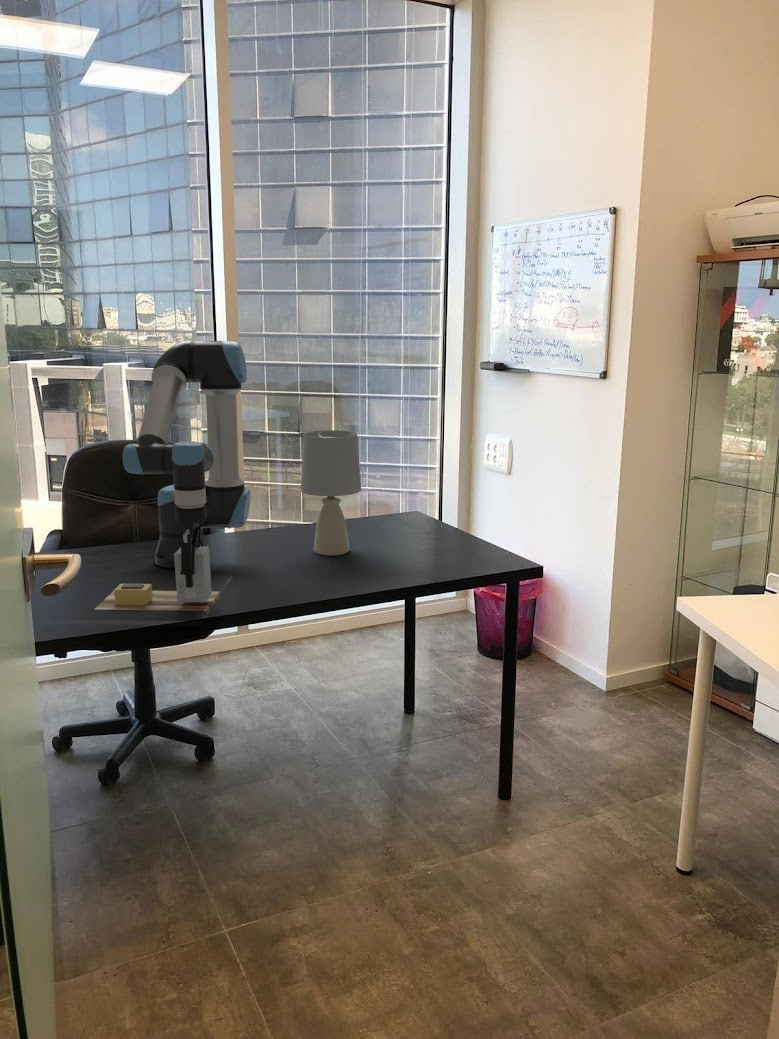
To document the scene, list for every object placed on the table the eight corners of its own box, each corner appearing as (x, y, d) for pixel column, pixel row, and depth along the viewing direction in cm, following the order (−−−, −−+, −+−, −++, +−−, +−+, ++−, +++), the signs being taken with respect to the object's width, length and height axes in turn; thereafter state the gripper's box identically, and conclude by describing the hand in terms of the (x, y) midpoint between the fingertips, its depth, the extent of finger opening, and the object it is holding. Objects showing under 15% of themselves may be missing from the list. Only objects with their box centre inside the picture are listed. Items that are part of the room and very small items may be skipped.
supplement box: (212, 593, 221) (210, 545, 218) (205, 602, 214) (203, 553, 211) (183, 593, 222) (181, 545, 219) (176, 602, 214) (173, 553, 211)
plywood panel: (114, 593, 228) (114, 590, 228) (219, 595, 228) (219, 591, 228) (94, 613, 214) (94, 609, 214) (206, 614, 213) (206, 610, 213)
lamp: (372, 553, 268) (372, 435, 259) (320, 562, 258) (318, 440, 249) (341, 540, 283) (340, 428, 274) (291, 548, 273) (288, 432, 264)
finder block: (121, 598, 222) (120, 582, 221) (152, 598, 222) (151, 582, 221) (115, 604, 217) (114, 588, 216) (146, 605, 217) (145, 588, 216)
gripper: (185, 496, 222) (189, 581, 227) (164, 514, 202) (169, 606, 208) (214, 496, 222) (218, 581, 227) (195, 514, 202) (200, 607, 208)
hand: (194, 593), depth 218 cm, fingers closed on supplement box, 7 cm apart
